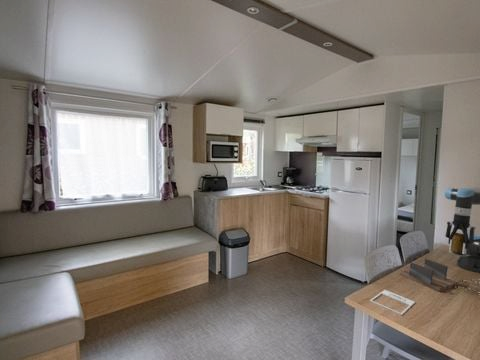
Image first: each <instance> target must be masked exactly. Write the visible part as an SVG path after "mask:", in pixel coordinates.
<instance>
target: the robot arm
mask: <svg viewBox="0 0 480 360" xmlns="http://www.w3.org/2000/svg"><path fill="white" fill-rule="evenodd" d="M444 197H445V198H446V199H447V200H450V201H455V206H454V207H455V208H454V215H453V221H447V222H446V224H447V226H446V232H445V235H444V236H445V238H448V244H449V250H448V251H452V250H451V249H452V242H453V237H454V234H455V233H458V231H459V230H461V232H462V234H463V235H464V240H465V243H463V251H462V254H468V255H470V256H460V255H459V257H458V259H457V261H456V265H457V266H458V267H459V268H461V269H464V270H467V271H470V272H474V273H480V234H475V230H476V227H475V226H473V225H471V224H470V223H471V222H470V221H471V215H472V207H473V206H474V205H475V206H476V205H477V206H478V205H479V206H480V185H477V186H472V187H471V186H470V187H463V188H454V187H453V188H452V187H449V188H447V189H446V190H445V191H444ZM452 226H453V229H452ZM468 230H469V233H468Z"/></svg>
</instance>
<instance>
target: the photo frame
mask: <svg viewBox="0 0 480 360" xmlns="http://www.w3.org/2000/svg"><path fill="white" fill-rule="evenodd" d="M381 295H383V296H386V297H388V298H391V299H393V300H394V301H397V302H399V303H403V304H404V305H407V307H406V308H405V309H404V310H402V311H401V312H399V311H396V310H395V309H392V308H390V307H388V306H385V305H383V304H380V303H378V302H377V301H375V300H376V299H377V298H378V297H380V296H381ZM369 301H370V302H371V303H373V304H375V305H378V306H379V307H382V308H384V309H386V310H388V311H391V312H392V313H395V314H397V315H399V316H403V315H404V314H405V313H406V312H407V311H408V310H409V309H410V308H411V307H413V305H414V304H415V303H416V302H415V301H414V300H411V299H410V298H406V297H404V296H402V295H399V294H397V293H394V292H392V291H389V290H387V289H383V290H382V291H381V292H378V294H376V295H375V296H374V297H372V298H371V299H369Z"/></svg>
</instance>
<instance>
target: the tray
mask: <svg viewBox="0 0 480 360" xmlns="http://www.w3.org/2000/svg"><path fill="white" fill-rule="evenodd" d="M448 268H449V266H448V265H446V264H443V263H439V262H437V261H434V260H432V259H428V258H424V264H423V265H421V264H418V263H415V262H413V261H411V262H410V264H409V269H406V270H402V271H400V272H399V275H400V276H401V275H402V277H404V278H406V279H408V280H410V281H412V282H413V281H414V282H415V283H418V284H420V285H422V286H425V287H427V288H428V289H431V290H433V291H435V292H438V293H440V292H443V291H446V290H449V289H451V288H454V287H456V286H457V282H456V281H453V280H450V279H448V278H447V277H448V276H447V274H448Z"/></svg>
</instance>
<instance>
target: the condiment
mask: <svg viewBox="0 0 480 360" xmlns="http://www.w3.org/2000/svg"><path fill="white" fill-rule="evenodd" d="M463 243H465V240H464V235H463V233H459V232H456V233H455V234H454V237H453V242H452V249H451V250H448V252H449V253H451V254H454V255H457V256H459V257H460V256H470V255H468V254H462V251H463Z"/></svg>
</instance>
